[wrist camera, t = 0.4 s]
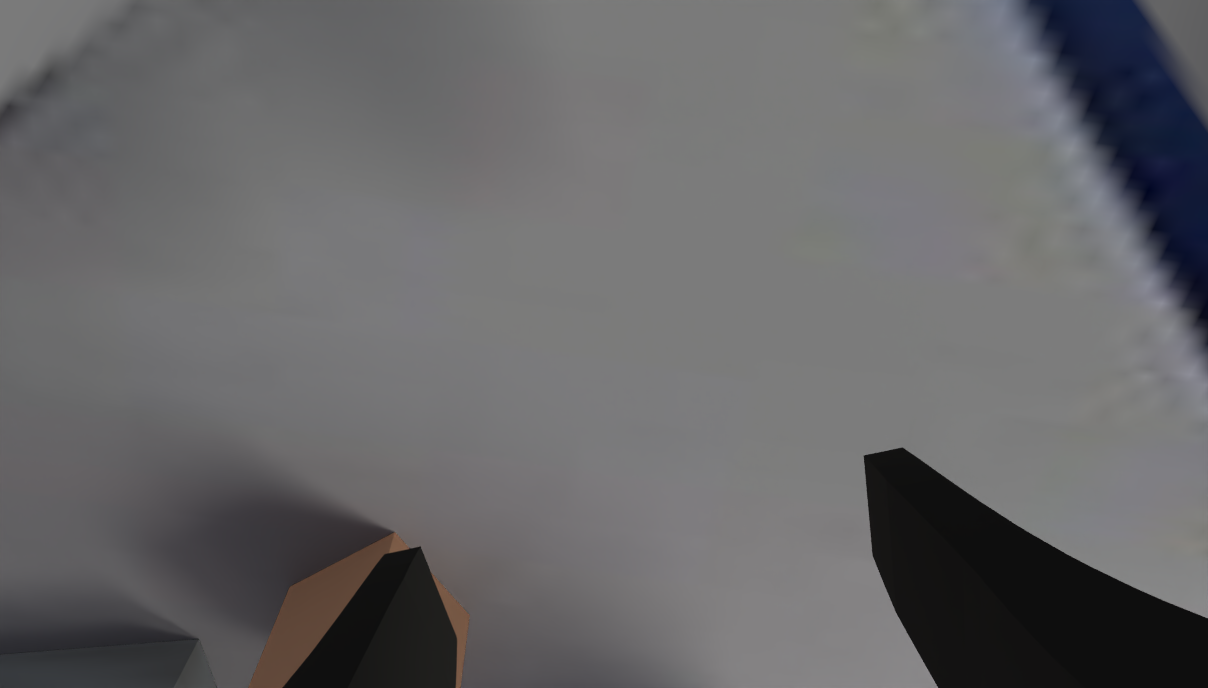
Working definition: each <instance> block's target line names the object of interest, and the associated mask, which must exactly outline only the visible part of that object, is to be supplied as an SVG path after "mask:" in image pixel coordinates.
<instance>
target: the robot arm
mask: <svg viewBox="0 0 1208 688" xmlns="http://www.w3.org/2000/svg"><path fill="white" fill-rule="evenodd" d="M864 463H865V475H866V486H867V497H868V508H869V519H870V531H871V542H872V553H873V558H874V560H875V562H876V565H877V567H878V570H879V572H880V575H881V577H882V580H883V582H884V585H885V587H886V590H887V592H888V594H889V597H890V599H891V601H892V604H893V606H894V608H895V611H896V613H897V615H898V617H899V619H900V620H901V622H902V624H903V626H904V628H905V629H906V631H907V633H908V635H909V637H910V638H911V640H912V642H913V644H914V646H915V647H916V649H917V651H918V653H919V654H920V656H921V658H922V660H923V662H924V663H925V665H926V667H927V669H928V670H929V672H930V674H931V676H932V677H933V679H934V681H935V683H936V684H937V686H938V688H1208V618H1205V617H1203V616H1200V615H1198V614H1195V613H1193V612H1190V611H1188V610H1185V609H1183V608H1180V607H1178V606H1175V605H1173V604H1170V603H1168V602H1165V601H1163V600H1161V599H1158V598H1156V597H1154V596H1151V595H1149V594H1147V593H1145V592H1142V591H1140V590H1138V589H1136V588H1133V587H1131V586H1129V585H1127V584H1125V583H1123V582H1121V581H1119V580H1117V579H1115V578H1113V577H1111V576H1109V575H1107V574H1104V573H1102V572H1100V571H1098V570H1096V569H1094V568H1092V567H1090V566H1088V565H1086V564H1084V563H1082V562H1080V561H1079V560H1077V559H1075V558H1073V557H1071V556H1069V555H1067V554H1065V553H1064V552H1062V551H1060V550H1058V549H1057V548H1055V547H1053V546H1051V545H1050V544H1048V543H1046V542H1044V541H1043V540H1041V539H1039V538H1037V537H1035V536H1034V535H1032V534H1030V533H1029V532H1027V531H1025V530H1024V529H1022V528H1020V527H1019V526H1017V525H1015V524H1014V523H1012V522H1011V521H1009V520H1008V519H1006V518H1005V517H1003V516H1002V515H1000V514H998V513H997V512H995V511H994V510H992V509H991V508H989V507H988V506H986V505H984V504H983V503H981V502H980V501H978V500H977V499H976V498H974V497H973V496H971V495H970V494H968V493H967V492H965V491H964V490H962V489H961V488H959V487H958V486H957V485H955V484H954V483H952V482H951V481H949V480H948V479H947V478H945V477H944V476H942V475H941V474H940V473H938V472H937V471H935V470H934V469H932V468H931V467H930V466H928V465H927V464H925V463H924V462H923V461H921V460H920V459H918V458H917V457H916V456H914V455H913V454H911V453H910V452H908V451H907V450H905V449H904V448H898V449H893V450H889V451H884V452H879V453H874V454H869V455H864ZM456 672H457V636H456V634H455V631H454V629H453V626H452V624H451V621H450V619H449V616H448V614H447V611H446V609H445V606H444V604H443V601H442V599H441V596H440V594H439V591H438V589H437V587H436V584H435V582H434V579H433V577H432V574H431V572H430V569H429V567H428V564H427V562H426V559H425V557H424V554H423V552H422V549H421V547H416V548H411V549H407V550H402V551H397V552H392V553H387V554H384V555H383V556H382V558H381V559H380V560H379V562H378V563H377V564H376V565H375V567H374V568H373V569H372V571H371V572H370V574H369V575H368V576H367V578H366V579H365V580H364V582H363V583H362V585H361V586H360V587H359V589H358V590H357V591H356V593H355V594H354V596H353V597H352V598H351V600H350V601H349V603H348V604H347V605H346V607H345V608H344V609H343V611H342V612H341V613H340V615H339V616H338V617H337V619H336V620H335V621H334V623H333V624H332V625H331V627H330V628H329V629H328V631H327V632H326V633H325V635H324V636H323V637H322V639H321V640H320V641H319V643H318V644H317V645H316V647H315V648H314V649H313V651H312V652H311V653H310V655H309V656H308V657H307V658H306V659H305V661H304V662H303V663H302V664H301V666H300V667H299V668H298V669H297V670H296V672H295V673H294V674H293V675H292V677H291V678H290V679H289V680H288V681H287V683H286V684H285V685H284V686H283V687H282V688H456Z"/></svg>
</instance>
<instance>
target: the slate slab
mask: <svg viewBox="0 0 1208 688" xmlns="http://www.w3.org/2000/svg"><path fill="white" fill-rule="evenodd" d="M0 688H217V686H216V684H215V681H214V678H213V676H212V673H211V670H210V668H209V665H208V662H207V660H206V657H205V654H204V651H203V649H202V646H201V643H200V641H199V639H193V640H180V641H167V642H154V643H141V644H128V645H115V646H102V647H89V648H76V649H63V650H50V651H37V652H24V653H11V654H0Z"/></svg>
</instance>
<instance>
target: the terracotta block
mask: <svg viewBox="0 0 1208 688" xmlns="http://www.w3.org/2000/svg"><path fill="white" fill-rule="evenodd" d="M407 549H409V547H408V546H407V545H406V544H405V543H404V542H403V541H402V540H401V539H400V537H399V536H398V535H397V534H396V533H395V532H394V533H392V534H390V535H388V536H386V537H384V538H382V539H381V540H379V541H377V542H375V543H373V544H371V545H369V546H367V547H365V548H363V549H361V550H359V551H357V552H356V553H354V554H352V555H350V556H348V557H346V558H344V559H342V560H340V561H338V562H336V563H334V564H333V565H331V566H329V567H327V568H325V569H323V570H321V571H319V572H317V573H315V574H313V575H311V576H309V577H308V578H306V579H304V580H302V581H300V582H298V583H296V584H294V585H292V586H290V587H289V590H288V592H287V595H286V597H285V600H284V602H283V604H282V607H281V609H280V612H279V614H278V617H277V619H276V621H275V624H274V626H273V629H272V631H271V634H270V636H269V638H268V641H267V643H266V646H265V648H264V651H263V653H262V655H261V658H260V660H259V663H258V665H257V668H256V670H255V672H254V675H253V677H252V680H251V682H250V685H249V687H248V688H282V687H283V686H284V685H285V684H286V683H287V681H288V680H289V679H290V678H291V677H292V675H293V674H294V673H295V672H296V670H297V669H298V668H299V667H300V666H301V664H302V663H303V662H304V661H305V659H306V658H307V657H308V656H309V655H310V653H311V652H312V651H313V649H314V648H315V647H316V645H317V644H318V643H319V641H320V640H321V639H322V637H323V636H324V635H325V633H326V632H327V631H328V629H329V628H330V627H331V625H332V624H333V623H334V621H335V620H336V619H337V617H338V616H339V615H340V613H341V612H342V611H343V609H344V608H345V607H346V605H347V604H348V603H349V601H350V600H351V598H352V597H353V596H354V594H355V593H356V591H357V590H358V589H359V587H360V586H361V585H362V583H363V582H364V580H365V579H366V578H367V576H368V575H369V574H370V572H371V571H372V569H373V568H374V567H375V565H376V564H377V563H378V562H379V560H380V559H381V558H382V556H383V555H384V554H387V553H392V552H397V551H402V550H407ZM431 574H432V573H431ZM432 577H433V579H434V582H435V584H436V587H437V589H438V591H439V594H440V596H441V599H442V601H443V604H444V606H445V609H446V611H447V614H448V616H449V619H450V621H451V624H452V626H453V629H454V631H455V634H456V636H457V672H456V688H460V687H461V679H462V672H463V664H464V656H465V648H466V640H467V632H468V624H469V617H470V615H469V614H468V613H467V612H466V611H465V610H464V609H463V608H462V606H461V605H460V604H459V603H458V602H457V601H456V600H455V599H454V598H453V596H452V595H451V594H450V593H449V592H448V591H447V590H446V589H445V588H444V586H443V585H442V584H441V583H440V582H439V581H438V580H437V579H436V578H435V576H434V575H433V574H432Z"/></svg>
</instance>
